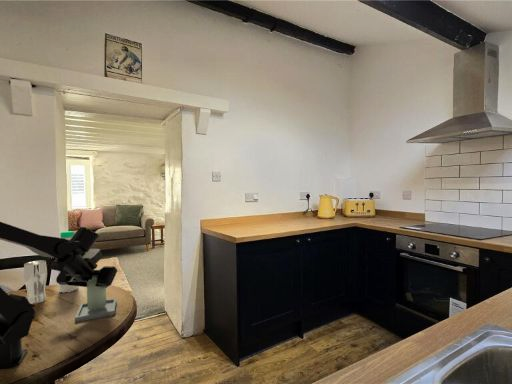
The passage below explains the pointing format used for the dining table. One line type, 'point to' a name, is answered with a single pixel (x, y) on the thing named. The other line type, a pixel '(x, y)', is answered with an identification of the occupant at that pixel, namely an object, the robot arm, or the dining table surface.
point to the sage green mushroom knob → (95, 295)
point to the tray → (95, 311)
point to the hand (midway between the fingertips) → (99, 286)
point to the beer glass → (35, 280)
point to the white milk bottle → (62, 288)
